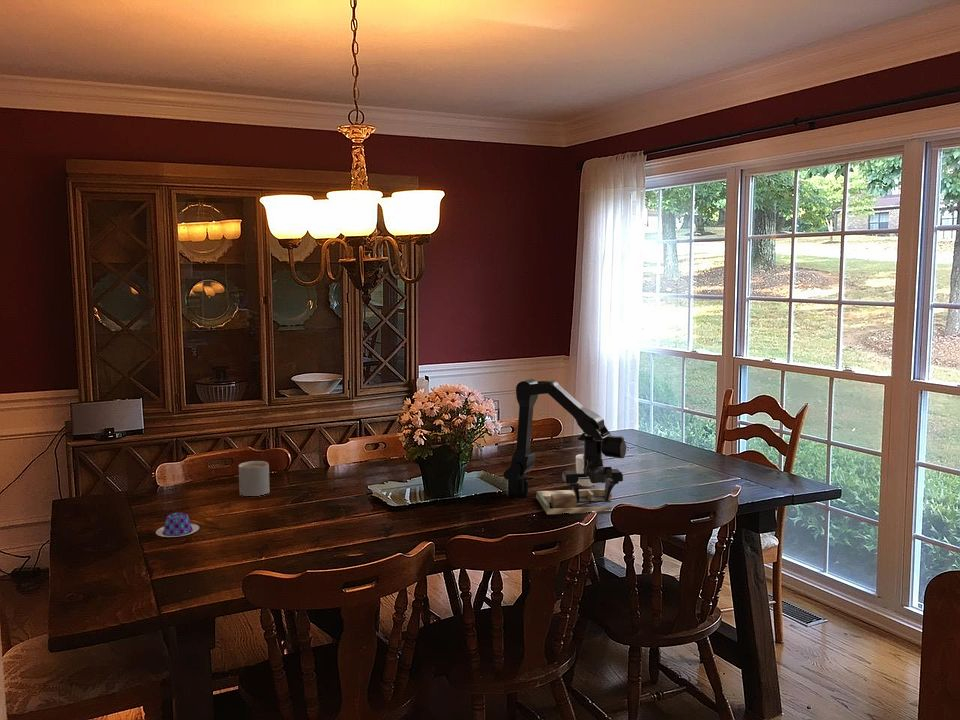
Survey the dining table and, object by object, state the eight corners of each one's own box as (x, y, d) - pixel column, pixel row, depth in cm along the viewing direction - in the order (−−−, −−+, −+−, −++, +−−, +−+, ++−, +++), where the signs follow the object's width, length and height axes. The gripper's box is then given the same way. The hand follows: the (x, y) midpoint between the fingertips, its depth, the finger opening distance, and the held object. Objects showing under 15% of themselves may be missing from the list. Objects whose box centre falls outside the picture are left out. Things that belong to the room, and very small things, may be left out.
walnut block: (554, 511, 253) (554, 498, 252) (551, 506, 258) (551, 494, 257) (575, 510, 254) (575, 497, 253) (572, 505, 259) (572, 493, 258)
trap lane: (547, 514, 249) (547, 506, 248) (536, 498, 265) (536, 491, 265) (621, 511, 252) (621, 503, 251) (606, 495, 268) (606, 488, 268)
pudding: (148, 532, 234) (147, 515, 233) (187, 523, 242) (186, 506, 242) (167, 542, 226) (166, 524, 225) (206, 531, 234) (206, 514, 234)
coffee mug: (270, 495, 270) (269, 466, 268) (239, 498, 267) (238, 469, 266) (268, 485, 282) (267, 457, 281) (239, 487, 279) (238, 459, 278)
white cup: (580, 487, 278) (580, 460, 277) (572, 482, 286) (572, 454, 284) (601, 486, 280) (601, 458, 279) (592, 480, 288) (592, 453, 286)
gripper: (570, 461, 245) (569, 510, 247) (628, 459, 248) (627, 508, 250) (562, 453, 256) (561, 500, 258) (618, 451, 259) (617, 498, 261)
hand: (592, 502), depth 256 cm, fingers open, 9 cm apart
